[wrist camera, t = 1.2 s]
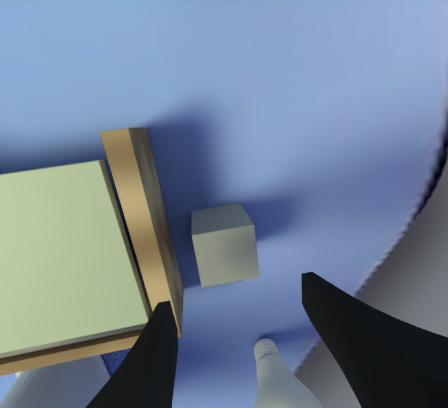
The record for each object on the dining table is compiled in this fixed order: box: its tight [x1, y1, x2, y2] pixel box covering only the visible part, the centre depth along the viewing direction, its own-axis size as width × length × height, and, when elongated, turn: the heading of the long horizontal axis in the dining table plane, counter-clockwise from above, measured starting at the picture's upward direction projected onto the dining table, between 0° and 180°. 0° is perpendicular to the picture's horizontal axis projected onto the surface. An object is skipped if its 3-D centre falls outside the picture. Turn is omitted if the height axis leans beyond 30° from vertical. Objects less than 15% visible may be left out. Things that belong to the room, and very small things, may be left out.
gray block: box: [192, 203, 259, 288], centre depth 19 cm, size 4×4×5 cm
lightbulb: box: [254, 339, 323, 408], centre depth 21 cm, size 6×6×11 cm
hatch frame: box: [0, 128, 184, 376], centre depth 17 cm, size 15×17×6 cm
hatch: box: [0, 159, 151, 358], centre depth 15 cm, size 12×13×1 cm
